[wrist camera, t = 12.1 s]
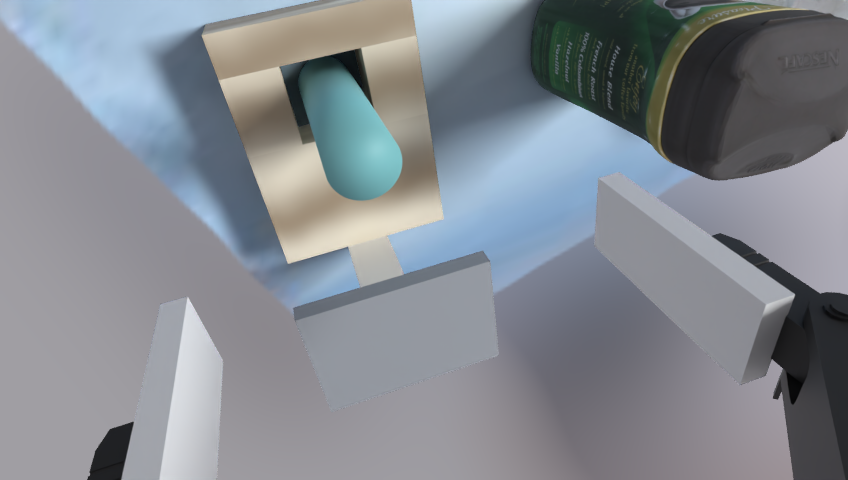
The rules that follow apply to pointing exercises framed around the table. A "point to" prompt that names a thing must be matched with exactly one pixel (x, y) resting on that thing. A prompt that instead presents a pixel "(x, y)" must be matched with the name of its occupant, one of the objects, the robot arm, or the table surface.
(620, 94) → the coffee jar
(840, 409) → the robot arm
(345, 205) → the socket block
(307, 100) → the peg
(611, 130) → the table surface
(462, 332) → the light grey angular piece
